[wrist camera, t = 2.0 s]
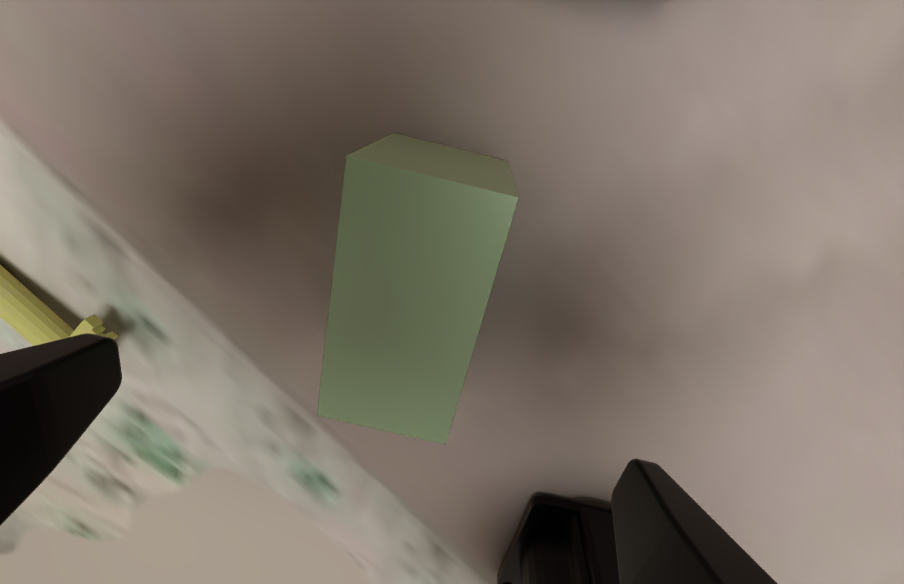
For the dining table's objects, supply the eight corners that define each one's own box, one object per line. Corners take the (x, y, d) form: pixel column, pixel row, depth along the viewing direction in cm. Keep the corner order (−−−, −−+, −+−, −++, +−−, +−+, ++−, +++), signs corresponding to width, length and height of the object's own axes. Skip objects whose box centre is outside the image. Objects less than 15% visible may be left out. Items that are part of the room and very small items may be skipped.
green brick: (456, 346, 16) (445, 444, 12) (363, 324, 16) (316, 415, 12) (507, 160, 13) (518, 197, 9) (393, 132, 13) (346, 155, 9)
